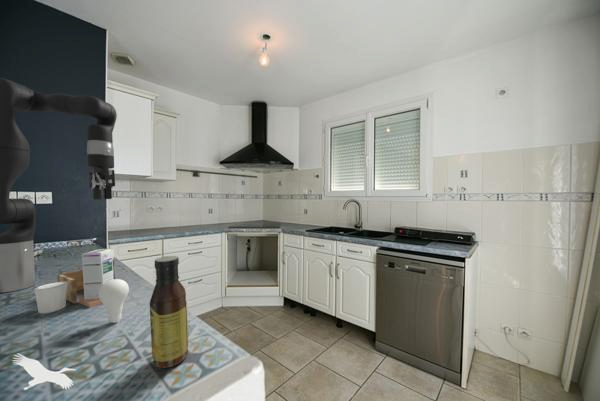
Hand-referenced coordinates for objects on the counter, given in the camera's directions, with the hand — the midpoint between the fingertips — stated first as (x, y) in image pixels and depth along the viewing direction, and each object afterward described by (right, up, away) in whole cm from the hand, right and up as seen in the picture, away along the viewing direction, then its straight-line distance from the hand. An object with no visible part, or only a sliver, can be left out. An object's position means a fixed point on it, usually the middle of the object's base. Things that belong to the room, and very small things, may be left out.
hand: (102, 199), depth 88 cm
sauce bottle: (+47, -32, -42) cm, 70 cm away
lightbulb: (+25, -32, -26) cm, 48 cm away
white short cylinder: (-1, -33, -17) cm, 37 cm away
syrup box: (+9, -31, -11) cm, 34 cm away
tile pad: (+9, -32, -12) cm, 35 cm away
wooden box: (-1, -32, -6) cm, 33 cm away
